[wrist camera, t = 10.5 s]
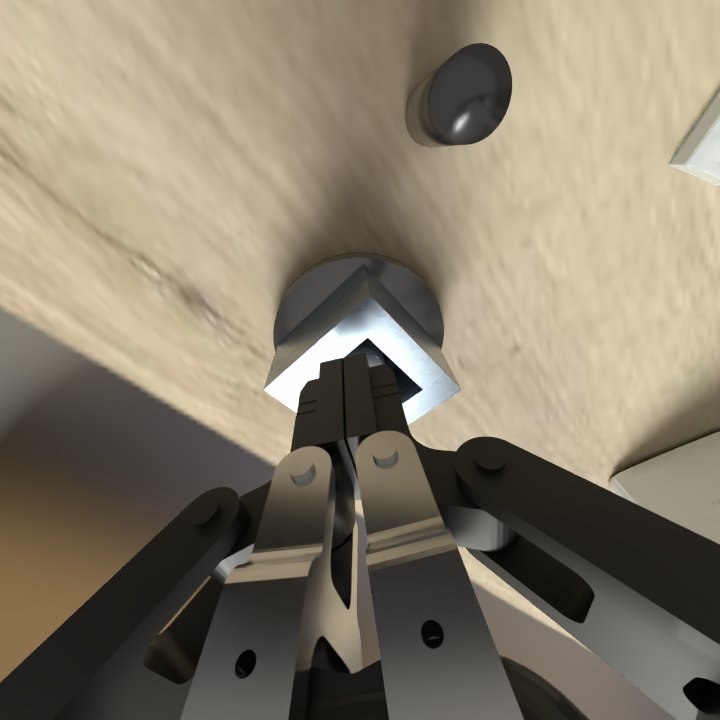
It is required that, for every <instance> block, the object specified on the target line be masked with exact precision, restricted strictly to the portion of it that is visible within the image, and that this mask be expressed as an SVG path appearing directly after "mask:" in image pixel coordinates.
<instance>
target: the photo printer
mask: <svg viewBox="0 0 720 720" xmlns="http://www.w3.org/2000/svg"><path fill="white" fill-rule="evenodd" d="M610 489H611V491H612V492H613V493H615V494H617V495H619V496H621V497H623V498H625V499H627V500H629V501H631V502H633V503H635V504H637V505H639V506H642V507H644V508H646V509H648V510H650V511H652V512H654V513H656V514H658V515H660V516H662V517H664V518H666V519H668V520H670V521H673V522H675V523H677V524H679V525H681V526H683V527H685V528H687V529H689V530H691V531H693V532H695V533H697V534H699V535H702V536H704V537H706V538H708V539H710V540H712V541H714V542H716V543H718V544H720V431H719V432H716V433H714V434H711V435H709V436H706V437H704V438H701V439H699V440H696V441H694V442H691V443H689V444H686V445H684V446H681V447H679V448H676V449H674V450H671V451H669V452H666V453H664V454H661V455H659V456H657V457H654V458H652V459H650V460H647V461H645V462H643V463H640V464H638V465H636V466H633V467H631V468H629V469H626V470H624V471H622V472H620V473H618V474H616V475H615V476H613V477H612V479H611V481H610Z"/></svg>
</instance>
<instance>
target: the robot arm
mask: <svg viewBox="0 0 720 720" xmlns="http://www.w3.org/2000/svg"><path fill="white" fill-rule="evenodd" d="M359 499H361V501H362V507H363V514H364V520H365V527H366V533H367V540H368V548H366V561H367V568H368V576H369V583H370V590H371V596H372V604H373V611H374V617H375V624H376V631H377V638H378V645H379V652H380V660H379V661H377V662H375V663H373V664H371V665H369V666H367V667H366V668H364V669H362V670H361V643H360V634H359V628H358V622H357V611H356V601H357V598H356V597H357V542H358V527H357V523H356V520H355V500H359ZM457 546H460V547H465V548H466V549H467V550H468V551H469V553H470V554H472V555H473V556H474V557H475V558H476V559H477V560H479V561H480V562H481V563H482V564H484V565H485V566H486V567H487V568H489V569H490V570H491V571H492V572H494V573H495V574H496V575H497V576H499V577H500V578H501V579H502V580H504V581H505V582H506V583H507V584H509V585H510V586H511V587H512V588H514V589H515V590H516V591H517V592H519V593H520V594H521V595H522V596H524V597H525V598H526V599H527V600H529V601H530V602H531V603H532V604H533V605H535V606H536V607H537V608H538V609H540V610H541V611H542V612H543V613H545V614H546V615H547V616H548V617H550V618H551V619H552V620H553V621H555V622H556V623H557V624H558V625H560V626H561V627H562V628H563V629H565V630H566V631H567V632H568V633H570V634H571V635H572V636H573V637H575V638H576V639H577V640H578V641H580V642H581V643H582V644H583V645H585V646H586V647H587V648H588V649H590V650H591V651H592V652H593V653H595V654H596V655H597V656H598V657H600V658H601V659H602V660H603V661H605V662H606V663H607V664H608V665H610V666H611V667H612V668H613V669H614V670H616V671H617V672H618V673H620V674H621V675H622V676H623V677H624V678H626V679H627V680H628V681H630V682H631V683H632V684H633V685H634V686H636V687H637V688H638V689H639V690H641V691H642V692H643V693H644V694H646V695H647V696H648V697H649V698H651V699H652V700H653V701H655V702H656V703H657V704H658V705H659V706H661V707H662V708H663V709H665V710H666V711H667V712H668V713H669V714H671V715H672V716H673V717H674V718H676V719H677V720H720V544H718V543H716V542H714V541H712V540H710V539H708V538H706V537H704V536H702V535H699V534H697V533H695V532H693V531H691V530H689V529H687V528H685V527H683V526H681V525H679V524H677V523H675V522H673V521H670V520H668V519H666V518H664V517H662V516H660V515H658V514H656V513H654V512H652V511H650V510H648V509H646V508H644V507H642V506H639V505H637V504H635V503H633V502H631V501H629V500H627V499H625V498H623V497H621V496H619V495H617V494H615V493H613V492H611V491H608V490H606V489H604V488H602V487H600V486H598V485H596V484H594V483H592V482H590V481H588V480H586V479H584V478H582V477H579V476H577V475H575V474H573V473H571V472H569V471H567V470H565V469H563V468H561V467H559V466H557V465H555V464H553V463H551V462H548V461H546V460H544V459H542V458H540V457H538V456H536V455H534V454H532V453H530V452H528V451H526V450H524V449H522V448H519V447H517V446H515V445H513V444H511V443H509V442H507V441H505V440H502V439H499V438H494V437H477V438H473V439H470V440H468V441H466V442H465V443H463V444H462V445H461V446H460V447H459V448H458V450H457V451H443V450H435V449H431V448H428V447H426V446H423V445H422V444H420V443H419V442H417V441H416V440H415V439H414V438H413V437H412V435H411V433H410V431H409V428H408V424H407V420H406V416H405V413H404V409H403V405H402V401H401V397H400V394H399V390H398V386H397V382H396V379H395V375H394V372H393V371H392V370H391V369H390V368H389V367H388V366H387V365H385V364H382V365H377V366H373V367H369V363H368V359H367V355H366V352H365V353H360V354H356V355H351V356H347V357H344V360H343V358H338V359H333V360H329V361H324V362H321V363H320V369H319V378H318V379H313V380H308V381H307V382H306V384H305V385H304V387H303V388H302V390H301V391H300V394H299V401H298V407H297V416H296V420H295V426H294V433H293V439H292V446H291V452H290V453H289V454H288V455H287V456H286V457H284V458H283V459H282V460H281V462H280V463H279V464H278V466H277V467H276V469H275V472H274V475H273V478H272V480H271V481H269V482H268V483H267V484H265V485H263V486H261V487H259V488H257V489H255V490H253V491H250V492H248V493H246V494H244V495H242V496H240V497H239V496H238V494H237V493H236V492H235V491H234V490H233V489H231V488H227V487H219V488H215V489H211V490H209V491H207V492H205V493H204V494H202V495H200V496H199V497H197V498H196V499H195V500H194V501H193V502H191V503H190V504H189V505H188V506H187V507H186V508H185V509H184V510H183V511H182V512H181V513H180V514H179V515H178V516H176V517H175V518H174V519H173V520H172V521H171V522H170V523H169V524H168V525H167V526H166V527H165V528H164V529H163V530H162V531H161V532H160V533H159V534H157V535H156V536H155V537H154V538H153V539H152V540H151V541H150V542H149V543H148V544H147V545H146V546H145V547H144V548H143V549H142V550H140V551H139V552H138V553H137V554H136V555H135V556H134V557H133V558H132V559H131V560H130V561H129V562H128V563H127V564H126V565H125V566H123V567H122V568H121V569H120V570H119V571H118V572H117V573H116V574H115V575H114V576H113V577H112V578H111V579H110V580H109V581H108V582H107V583H105V584H104V585H103V586H102V587H101V588H100V589H99V590H98V591H97V592H96V593H95V594H94V595H93V596H92V597H91V598H90V599H89V600H87V601H86V602H85V603H84V604H83V605H82V606H81V607H80V608H79V609H78V610H77V611H76V612H75V613H74V614H73V615H72V616H70V617H69V619H67V620H66V621H65V622H64V623H63V624H62V625H61V626H60V627H59V628H58V629H57V630H56V631H55V632H54V633H52V634H51V635H50V636H49V637H48V638H47V639H46V640H45V641H44V642H43V643H42V644H41V645H40V646H39V647H38V648H37V649H36V650H34V651H33V653H31V654H30V655H29V656H28V657H27V658H26V659H25V660H24V661H23V662H22V663H21V664H20V665H19V666H18V667H17V668H15V669H14V670H13V671H12V672H11V673H10V674H9V675H8V676H7V677H6V678H5V679H4V680H3V681H2V682H1V683H0V720H590V719H589V718H587V716H586V715H585V714H584V713H583V712H582V711H580V709H578V708H577V707H576V706H575V705H574V704H573V703H572V702H571V701H570V700H569V699H568V698H567V697H566V696H565V695H564V694H563V693H562V692H560V691H559V690H558V689H557V688H555V687H554V686H553V685H552V684H550V683H549V682H548V681H546V680H545V679H544V678H543V677H541V676H539V675H538V674H537V673H535V672H533V671H532V670H530V669H529V668H527V667H526V666H524V665H522V664H520V663H518V662H516V661H514V660H512V659H510V658H508V657H505V656H502V655H499V654H498V651H497V649H496V646H495V643H494V641H493V638H492V636H491V633H490V630H489V628H488V625H487V623H486V620H485V618H484V615H483V613H482V610H481V607H480V605H479V602H478V599H477V597H476V594H475V591H474V589H473V586H472V584H471V581H470V579H469V576H468V573H467V571H466V568H465V566H464V563H463V560H462V558H461V555H460V553H459V550H458V548H457ZM209 575H210V576H211V578H210V579H209V580H208V582H207V583H206V584H205V585H204V586H203V587H202V589H201V590H200V591H199V592H198V593H197V594H196V596H195V597H194V598H193V599H192V600H191V601H190V603H189V604H188V605H187V606H186V607H185V609H183V611H182V612H181V613H180V614H179V615H178V617H177V618H176V619H175V620H174V621H173V622H172V623H171V625H170V626H169V627H168V628H167V629H166V630H165V631H163V632H162V633H161V634H159V633H160V631H161V630H162V629H163V628H164V627H165V626H166V624H167V623H168V622H169V621H170V620H171V619H172V618H173V616H174V615H175V614H176V613H177V612H178V611H179V610H180V608H181V607H182V606H183V605H184V604H185V603H186V601H187V600H188V599H189V598H190V597H191V596H192V595H193V593H194V592H195V591H196V590H197V589H198V588H199V587H200V585H201V584H202V583H203V582H204V581H205V579H207V577H208V576H209ZM158 634H159V635H158Z"/></svg>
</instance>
